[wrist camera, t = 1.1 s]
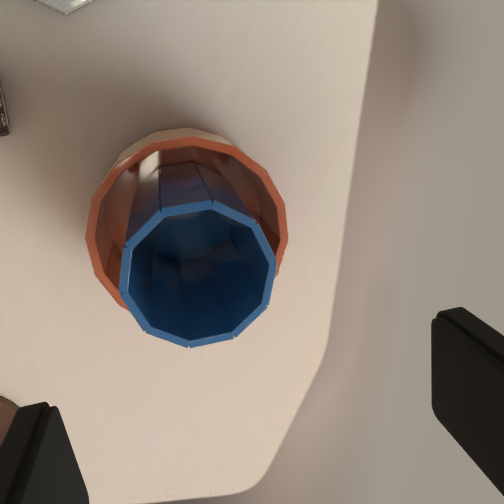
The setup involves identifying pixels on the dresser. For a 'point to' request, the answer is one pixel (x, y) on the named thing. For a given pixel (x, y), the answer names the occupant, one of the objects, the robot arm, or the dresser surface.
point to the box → (3, 117)
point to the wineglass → (64, 5)
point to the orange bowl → (161, 155)
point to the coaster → (6, 416)
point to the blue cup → (194, 258)
